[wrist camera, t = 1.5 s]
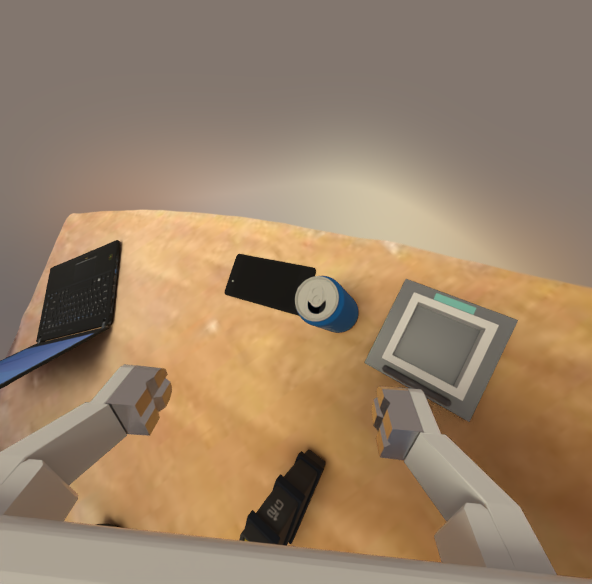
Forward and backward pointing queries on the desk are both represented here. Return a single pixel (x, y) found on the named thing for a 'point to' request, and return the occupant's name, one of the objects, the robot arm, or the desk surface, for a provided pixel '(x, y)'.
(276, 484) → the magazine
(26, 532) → the robot arm
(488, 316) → the charging dock
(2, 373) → the laptop
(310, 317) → the beverage can
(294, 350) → the desk surface
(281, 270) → the cell phone
